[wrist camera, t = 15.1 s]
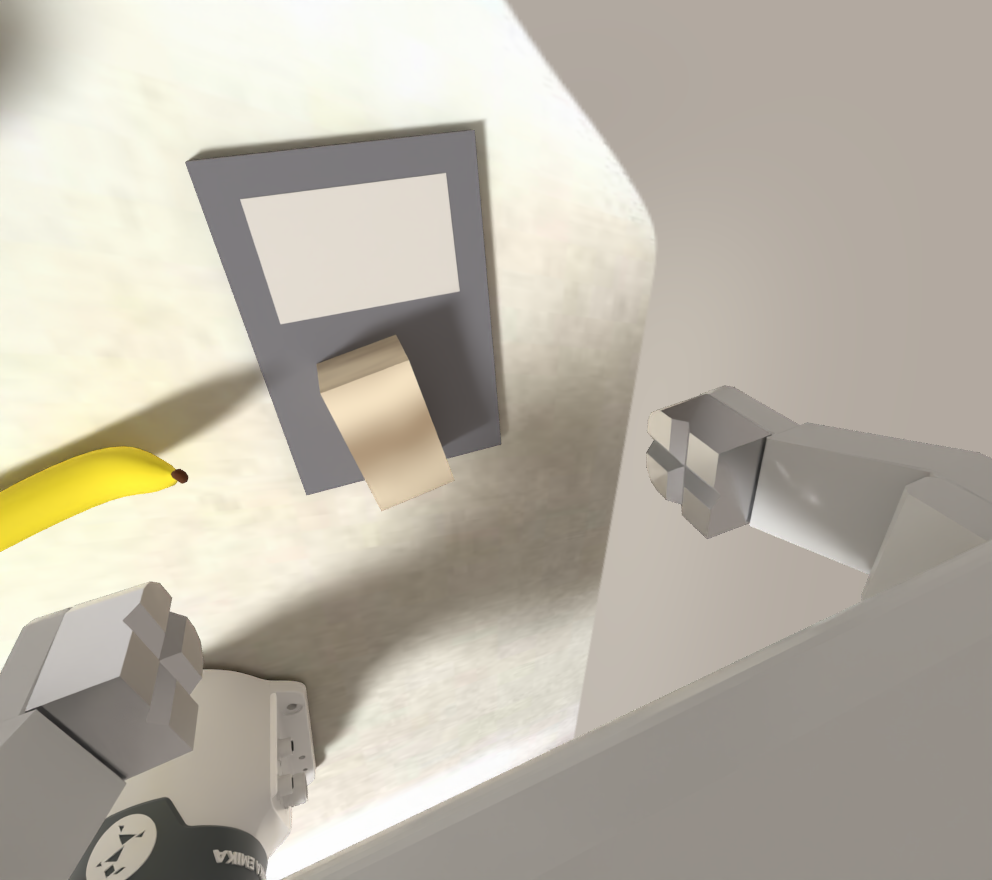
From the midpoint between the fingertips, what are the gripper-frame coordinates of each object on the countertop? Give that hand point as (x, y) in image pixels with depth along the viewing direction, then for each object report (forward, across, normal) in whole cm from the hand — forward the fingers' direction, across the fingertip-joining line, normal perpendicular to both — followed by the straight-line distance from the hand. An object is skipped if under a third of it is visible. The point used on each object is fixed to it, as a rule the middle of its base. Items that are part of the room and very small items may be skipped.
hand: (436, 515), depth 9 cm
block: (+24, 0, +11) cm, 26 cm away
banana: (+25, +19, +10) cm, 33 cm away
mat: (+24, -2, +6) cm, 25 cm away
